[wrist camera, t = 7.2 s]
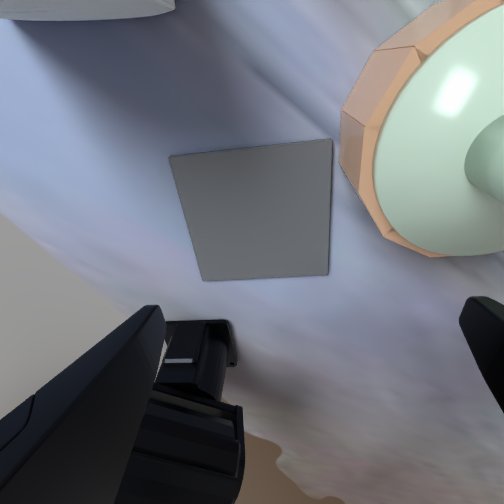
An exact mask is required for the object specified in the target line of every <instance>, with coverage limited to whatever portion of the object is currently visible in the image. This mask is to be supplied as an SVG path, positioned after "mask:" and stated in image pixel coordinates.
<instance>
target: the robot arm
mask: <svg viewBox="0 0 504 504" xmlns="http://www.w3.org/2000/svg"><path fill="white" fill-rule="evenodd" d="M459 324H460V327H461V329H462V332H463V334H464V336H465V338H466V341H467V343H468V345H469V347H470V350H471V352H472V354H473V356H474V359H475V361H476V363H477V365H478V368H479V370H480V372H481V374H482V376H483V378H484V380H485V381H486V383H487V385H488V387H489V389H490V390H491V392H492V394H493V395H494V397H495V399H496V401H497V402H498V404H499V406H500V408H501V409H502V411H503V413H504V305H503V304H501V303H499V302H497V301H495V300H493V299H491V298H489V297H486V296H472V297H469V298H468V299H467V300H466V302H465V305H464V307H463V309H462V312H461V314H460V317H459ZM164 339H165V342H166V344H167V346H168V347H167V349H166V352H165V355H164V357H163V360H162V364H161V367H160V369H159V372H158V375H157V377H156V374H157V370H158V365H159V361H160V356H161V351H162V347H163V343H164ZM236 365H237V357H236V353H235V348H234V344H233V340H232V336H231V332H230V327H229V323H228V322H227V321H226V320H197V321H168V322H165V319H164V316H163V313H162V311H161V308H160V306H159V305H145V306H144V307H142V308H141V309H140V310H139V311H137V312H136V313H135V314H133V315H132V316H131V317H130V318H128V319H127V320H126V321H125V322H123V323H122V324H121V325H120V326H118V327H117V328H116V329H115V330H113V331H112V332H111V333H110V334H108V335H107V336H106V337H105V338H104V339H102V340H101V341H99V342H98V343H97V344H96V345H95V346H93V347H92V348H91V349H89V350H88V351H87V352H86V353H84V354H83V355H82V356H81V357H79V358H78V359H77V360H76V361H74V362H73V363H72V364H71V365H69V366H68V367H67V368H66V369H64V370H63V371H62V372H61V373H59V374H58V375H57V376H55V377H54V378H53V379H52V380H50V381H49V382H48V383H47V384H45V385H44V386H43V387H42V388H40V389H39V390H38V391H37V392H36V393H35V394H33V395H31V396H30V397H29V398H28V399H26V400H25V401H24V402H23V403H21V404H20V405H19V406H17V407H16V408H15V409H14V410H12V411H11V412H10V413H8V414H7V415H6V416H5V417H3V418H2V419H1V420H0V504H234V503H235V501H236V499H237V497H238V494H239V491H240V488H241V484H242V480H243V475H244V468H245V444H244V426H243V408H242V407H241V406H238V405H236V406H233V405H230V404H227V403H223V402H221V397H222V391H223V384H224V378H225V372H226V367H235V366H236ZM155 378H156V380H155ZM154 381H155V382H154Z"/></svg>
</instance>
